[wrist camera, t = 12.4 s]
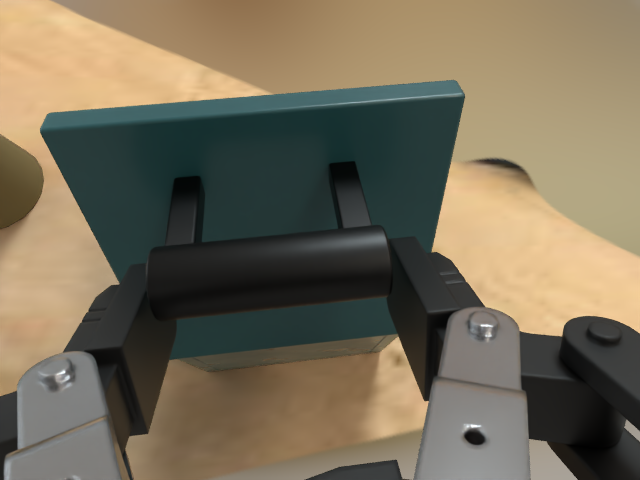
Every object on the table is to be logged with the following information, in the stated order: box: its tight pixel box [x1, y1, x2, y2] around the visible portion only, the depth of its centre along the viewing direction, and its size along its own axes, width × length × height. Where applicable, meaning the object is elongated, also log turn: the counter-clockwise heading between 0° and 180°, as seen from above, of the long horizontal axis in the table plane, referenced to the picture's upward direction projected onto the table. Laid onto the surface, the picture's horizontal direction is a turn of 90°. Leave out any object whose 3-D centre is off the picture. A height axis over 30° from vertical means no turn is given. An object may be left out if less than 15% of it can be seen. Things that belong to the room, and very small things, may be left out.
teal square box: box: [179, 334, 398, 372], centre depth 25 cm, size 10×10×9 cm
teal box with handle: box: [40, 80, 465, 360], centre depth 14 cm, size 10×10×5 cm
